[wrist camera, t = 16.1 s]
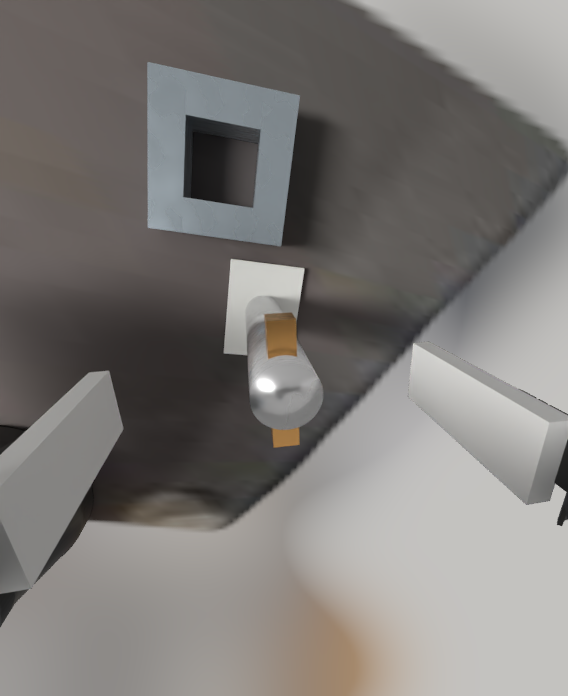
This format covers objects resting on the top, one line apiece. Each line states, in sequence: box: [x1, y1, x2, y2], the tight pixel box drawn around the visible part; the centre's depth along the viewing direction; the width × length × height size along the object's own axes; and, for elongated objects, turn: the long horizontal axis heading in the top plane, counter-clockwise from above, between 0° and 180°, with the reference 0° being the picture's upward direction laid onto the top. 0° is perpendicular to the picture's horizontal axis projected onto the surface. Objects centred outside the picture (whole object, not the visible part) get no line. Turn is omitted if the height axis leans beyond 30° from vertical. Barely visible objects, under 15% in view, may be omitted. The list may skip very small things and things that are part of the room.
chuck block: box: [148, 62, 300, 246], centre depth 22 cm, size 9×9×3 cm
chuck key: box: [245, 296, 323, 448], centre depth 20 cm, size 3×6×15 cm, turn 2°
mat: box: [224, 259, 305, 355], centre depth 27 cm, size 8×6×1 cm
